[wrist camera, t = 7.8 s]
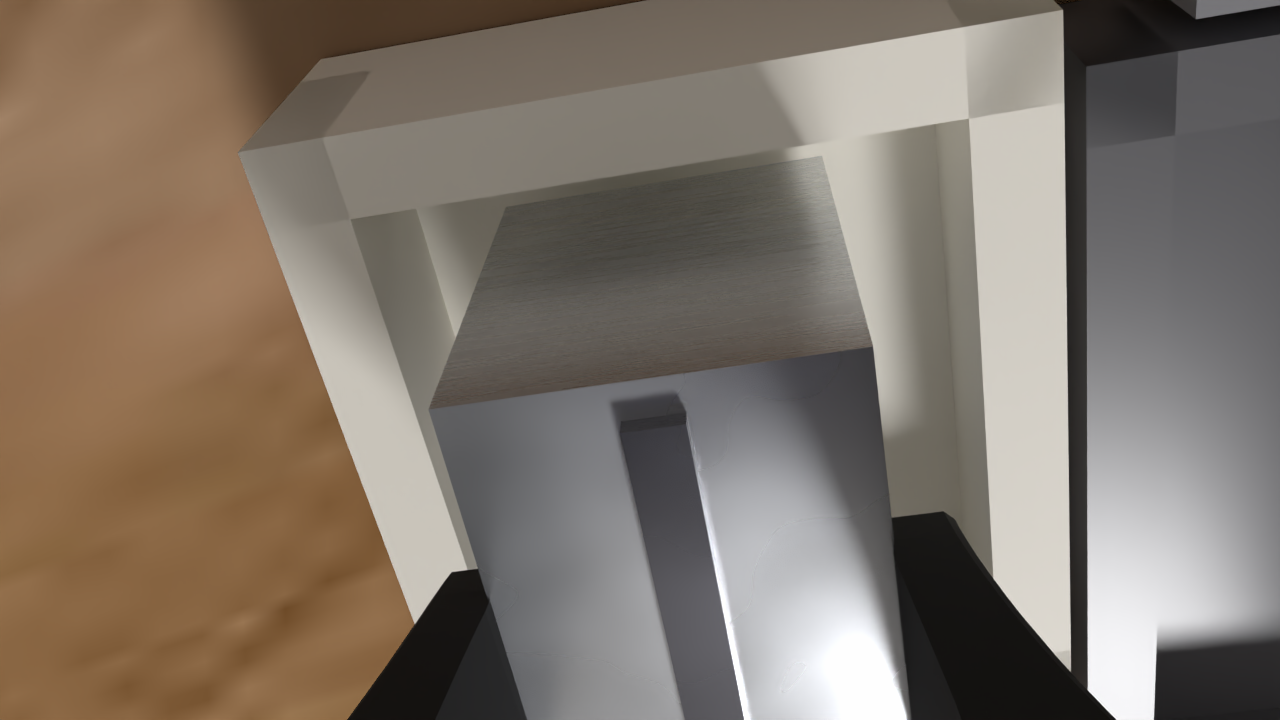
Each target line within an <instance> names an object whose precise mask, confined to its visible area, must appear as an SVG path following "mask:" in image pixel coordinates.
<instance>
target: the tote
mask: <svg viewBox="0 0 1280 720" xmlns="http://www.w3.org/2000/svg"><path fill="white" fill-rule="evenodd" d="M1058 5H1059V6H1060V7H1061V8H1062V9H1063V35H1064V119H1065V203H1066V287H1067V371H1068V455H1069V540H1070V624H1071V673H1072V674H1073V675H1074V676H1075V677H1076V678H1077V680H1078V681H1079V682H1080V683H1081V684H1082V685H1083V686H1084V687H1085V688H1086V689H1087V690H1088V691H1089V692H1090V693H1091V694H1092V695H1093V696H1094V697H1095V698H1096V699H1097V700H1098V701H1099V702H1100V703H1101V705H1102V706H1103V707H1104V708H1105V709H1106V710H1107V711H1108V712H1109V713H1110V714H1111V715H1112V716H1113V717H1114V718H1115V719H1116V720H1280V5H1277V6H1271V7H1266V8H1260V9H1254V10H1248V11H1242V12H1236V13H1230V14H1224V15H1218V16H1212V17H1206V18H1201V19H1195V18H1194V17H1192V16H1191V15H1190V14H1188V13H1187V12H1186V11H1184V10H1183V9H1182V8H1180V7H1179V6H1178V5H1176V4H1175V3H1174V2H1172V1H1171V0H1081V1H1076V2H1070V3H1064V4H1058Z"/></svg>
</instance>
